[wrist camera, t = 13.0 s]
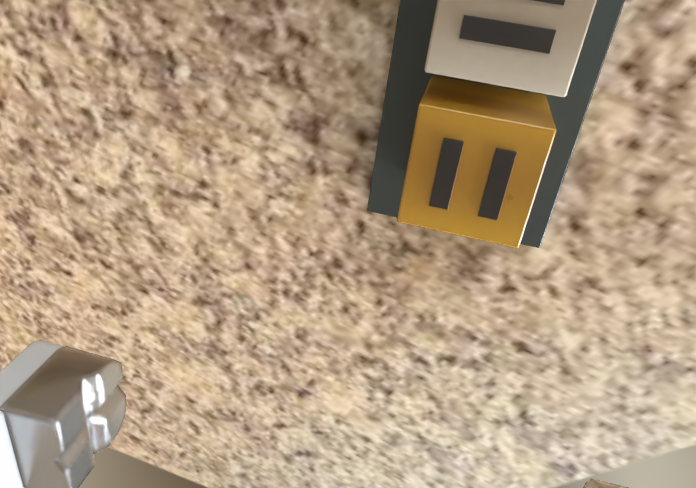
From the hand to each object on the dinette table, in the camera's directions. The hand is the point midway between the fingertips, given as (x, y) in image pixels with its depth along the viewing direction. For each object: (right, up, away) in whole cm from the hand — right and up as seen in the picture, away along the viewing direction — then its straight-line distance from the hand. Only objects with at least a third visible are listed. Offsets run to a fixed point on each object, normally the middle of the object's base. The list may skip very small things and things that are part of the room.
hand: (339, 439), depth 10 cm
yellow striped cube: (+6, +8, +14) cm, 17 cm away
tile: (+6, +13, +11) cm, 18 cm away
